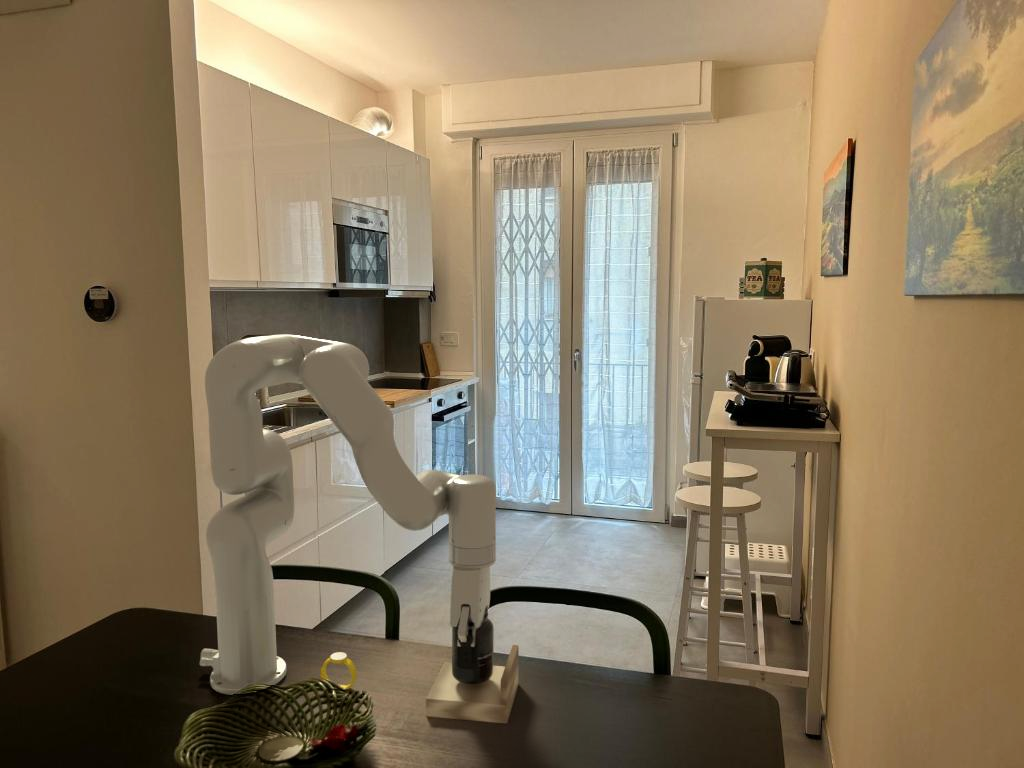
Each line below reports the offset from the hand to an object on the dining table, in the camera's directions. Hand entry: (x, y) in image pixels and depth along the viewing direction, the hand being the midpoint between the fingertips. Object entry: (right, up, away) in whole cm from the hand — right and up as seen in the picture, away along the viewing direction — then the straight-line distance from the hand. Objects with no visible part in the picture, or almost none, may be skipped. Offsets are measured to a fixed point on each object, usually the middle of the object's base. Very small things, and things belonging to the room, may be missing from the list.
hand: (472, 656), depth 122 cm
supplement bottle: (0, -3, 0) cm, 3 cm away
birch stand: (0, -8, +1) cm, 8 cm away
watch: (-23, -7, +5) cm, 25 cm away
